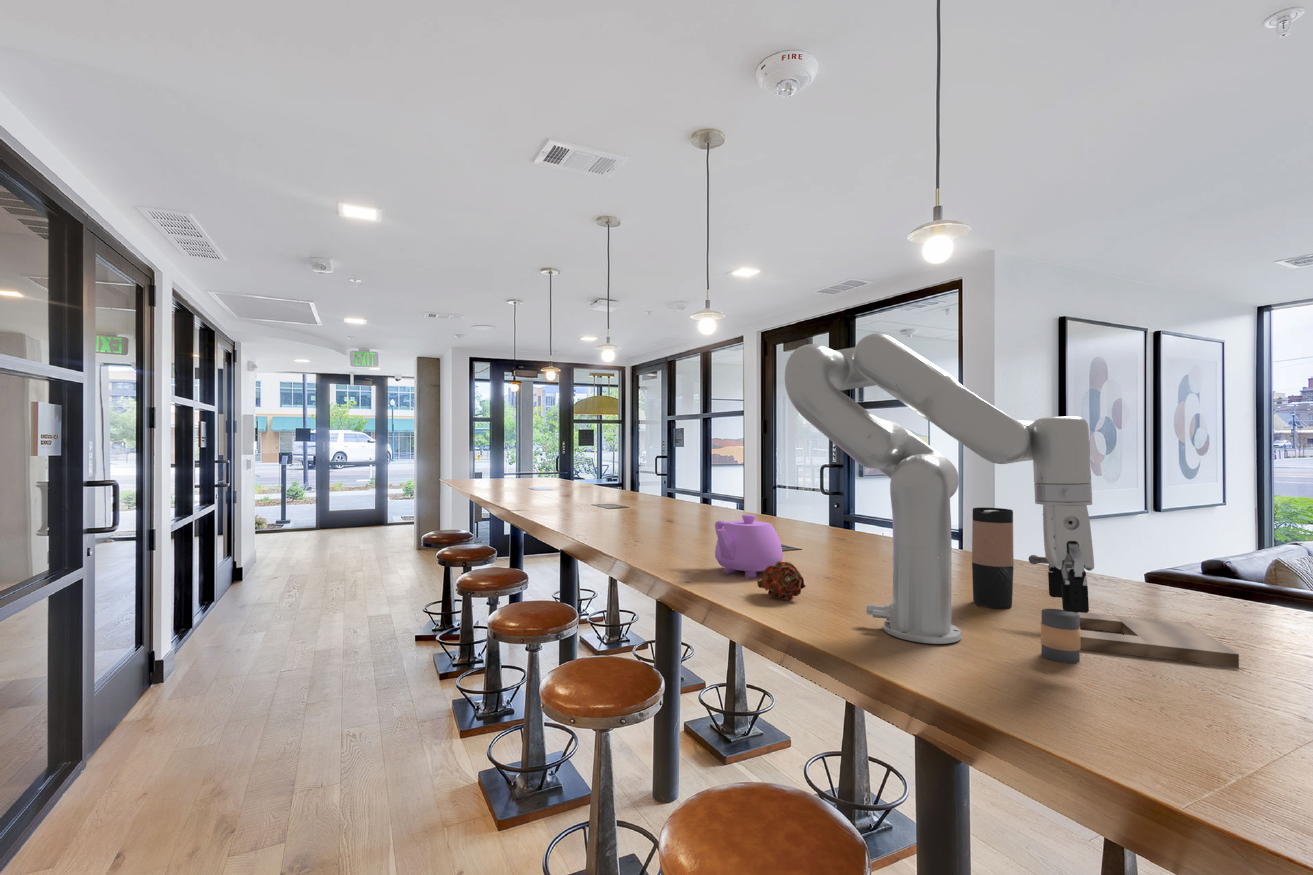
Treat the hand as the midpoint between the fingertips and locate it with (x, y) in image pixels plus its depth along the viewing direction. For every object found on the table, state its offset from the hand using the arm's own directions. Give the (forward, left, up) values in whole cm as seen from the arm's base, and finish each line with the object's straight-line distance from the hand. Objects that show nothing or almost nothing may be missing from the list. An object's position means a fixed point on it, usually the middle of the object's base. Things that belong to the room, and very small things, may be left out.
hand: (1067, 604), depth 95 cm
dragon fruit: (-49, +19, -9) cm, 53 cm away
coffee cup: (-1, 0, -9) cm, 9 cm away
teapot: (-64, +40, -9) cm, 76 cm away
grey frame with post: (+11, +15, -9) cm, 20 cm away
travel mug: (-7, +32, -9) cm, 34 cm away
